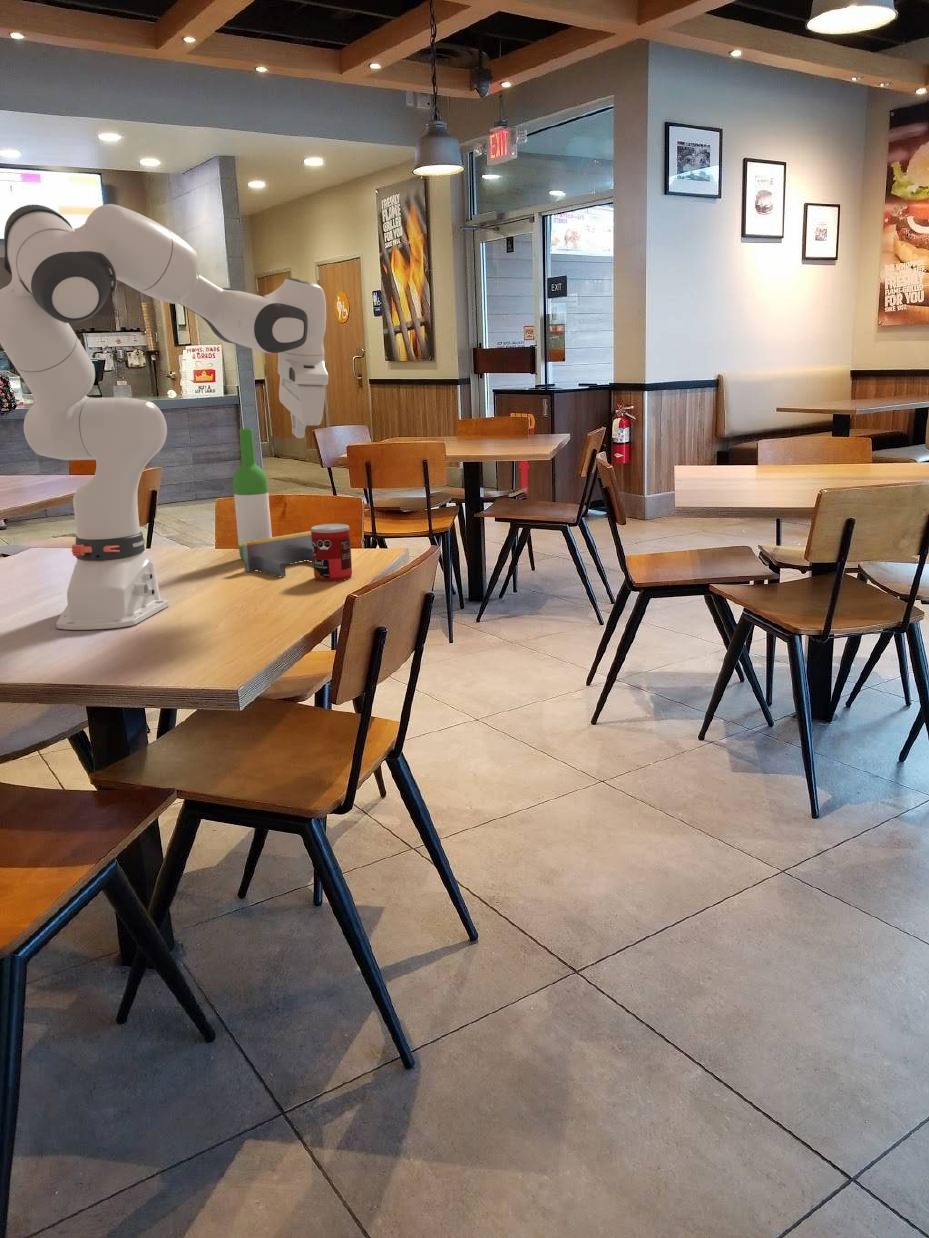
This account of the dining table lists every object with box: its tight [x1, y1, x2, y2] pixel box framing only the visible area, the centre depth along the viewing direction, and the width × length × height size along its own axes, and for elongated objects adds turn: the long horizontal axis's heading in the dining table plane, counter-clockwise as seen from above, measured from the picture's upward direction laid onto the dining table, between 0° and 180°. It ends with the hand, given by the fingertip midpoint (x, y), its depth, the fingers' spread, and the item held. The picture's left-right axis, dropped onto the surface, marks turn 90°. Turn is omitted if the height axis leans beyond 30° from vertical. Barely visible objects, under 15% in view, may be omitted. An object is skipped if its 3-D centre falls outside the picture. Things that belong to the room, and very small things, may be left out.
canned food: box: [310, 523, 353, 582], centre depth 201 cm, size 8×8×11 cm
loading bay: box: [242, 530, 313, 578], centre depth 212 cm, size 12×18×6 cm, turn 133°
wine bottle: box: [232, 428, 273, 561], centre depth 220 cm, size 8×8×30 cm
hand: (298, 436), depth 192 cm, fingers closed
